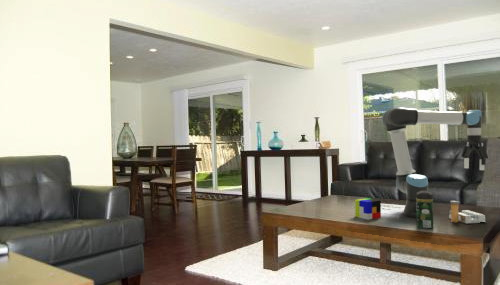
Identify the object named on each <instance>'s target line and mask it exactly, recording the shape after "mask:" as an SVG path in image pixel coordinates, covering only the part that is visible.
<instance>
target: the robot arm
mask: <svg viewBox="0 0 500 285" xmlns="http://www.w3.org/2000/svg"><path fill="white" fill-rule="evenodd" d="M482 116H483V115H482V111H481V110H480V109H469V110H467V111H446V110H444V111H441V110H439V111H438V110H418V109H417V108H408V107H393V108H392V107H391V108H388V109H387V110H385V112H383V114H382V117H381V119H382V120H381V122H382V124H383V125H384V126H385V129H386V132H387V133H388V134H389V135H390V140H391V146H392V148H393V149H392V150H393V154H394V160H395V163H396V167H397V168H396V169H397V171H396V173H395V176H396V179H395V186H396V188H397V189H398V190H399V191H400V192H401V193H403V194H406V203H405V206H404V207H403V208H404V209H403V216H406V217H411V218H417V212H416V194H417V192H420V191H429V181H428V177H427V176H426V175H424V174H423V175H422V174H417V172H416V171H417V170H415V169H414V168H413V165H412V160H411V156H410V151H409V147H408V142H407V137H406V133H405V131H406V129H407V126H416V125H418V124H423V125H426V124H427V125H449V126H466V127H467V132H466V134H467V137H466V139H467V142H464V146H463V150H462V151H461V158H463V168H464V169H470V167H469V166H470V165H469V164H470V158H469V156H470V155H471V153H472V152H473V151H476V153H477V155H478V157H479V171H485V165H486V160H487V159H488V158H489V156H488V154H487V150H486V147H485V143H484V142H481V141H482Z"/></svg>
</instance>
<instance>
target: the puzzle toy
mask: <svg viewBox="0 0 500 285" xmlns="http://www.w3.org/2000/svg"><path fill="white" fill-rule="evenodd" d="M354 202H355V203H354V205H355V206H354V207H355V208H354V209H355V210H354V211H355V217H356V218H360V219H364V220H368V221H369V220H373V219H381V218H382V217H381V216H382V210H381V209H382V206H381V204H382V203H381V200H380V199H374V198H370V197H368V198H365V197H364V198H360V199H355V200H354Z"/></svg>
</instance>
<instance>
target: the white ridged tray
mask: <svg viewBox="0 0 500 285" xmlns="http://www.w3.org/2000/svg"><path fill="white" fill-rule="evenodd" d="M448 217H449V218H448V219H451V210H449V211H448ZM458 220H459V223H463V224H480V222H485V223H486V215H485V214H484V213H480V212H476V211H472V210H469V209H464V210H461V212H459V211H458Z"/></svg>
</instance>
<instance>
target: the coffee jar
mask: <svg viewBox="0 0 500 285" xmlns="http://www.w3.org/2000/svg"><path fill="white" fill-rule="evenodd" d="M433 196H434V195H433V193H432V192H431V191H429V190H428V191H420V192H417V194H416V212H417V217H416V226H417V228H420V229H424V230H425V229H426V230H427V229H433V228H434V197H433Z"/></svg>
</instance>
